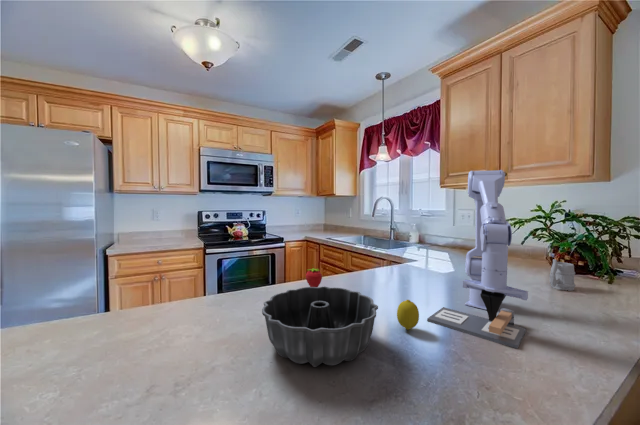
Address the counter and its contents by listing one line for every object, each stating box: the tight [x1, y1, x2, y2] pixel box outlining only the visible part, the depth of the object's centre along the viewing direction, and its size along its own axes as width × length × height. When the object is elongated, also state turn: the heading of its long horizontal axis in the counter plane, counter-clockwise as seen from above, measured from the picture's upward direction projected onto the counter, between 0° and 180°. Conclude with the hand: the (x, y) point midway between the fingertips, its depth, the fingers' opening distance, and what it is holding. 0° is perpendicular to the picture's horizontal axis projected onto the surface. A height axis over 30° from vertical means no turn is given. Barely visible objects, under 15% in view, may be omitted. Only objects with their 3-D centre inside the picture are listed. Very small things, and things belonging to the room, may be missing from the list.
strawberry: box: [305, 264, 323, 287], centre depth 105 cm, size 6×8×10 cm
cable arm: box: [489, 307, 515, 335], centre depth 73 cm, size 16×3×2 cm, turn 136°
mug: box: [549, 259, 576, 292], centre depth 111 cm, size 8×12×12 cm, turn 114°
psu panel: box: [426, 307, 527, 350], centre depth 76 cm, size 12×21×1 cm, turn 46°
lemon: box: [396, 299, 420, 331], centre depth 73 cm, size 6×6×8 cm
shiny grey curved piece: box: [508, 317, 515, 326], centre depth 78 cm, size 3×3×2 cm
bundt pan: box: [261, 285, 379, 368], centre depth 65 cm, size 26×26×10 cm
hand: (492, 320), depth 74 cm, fingers closed
